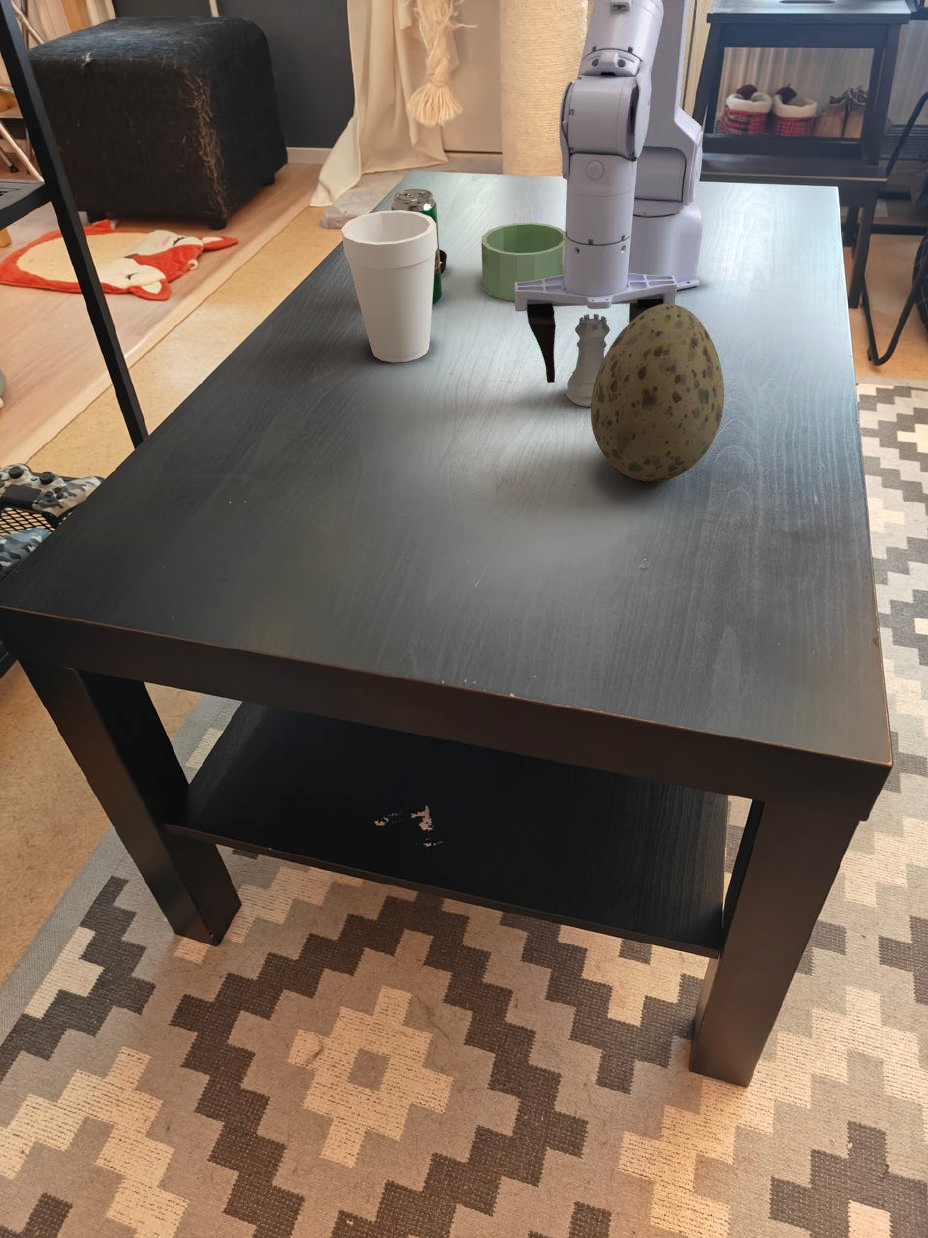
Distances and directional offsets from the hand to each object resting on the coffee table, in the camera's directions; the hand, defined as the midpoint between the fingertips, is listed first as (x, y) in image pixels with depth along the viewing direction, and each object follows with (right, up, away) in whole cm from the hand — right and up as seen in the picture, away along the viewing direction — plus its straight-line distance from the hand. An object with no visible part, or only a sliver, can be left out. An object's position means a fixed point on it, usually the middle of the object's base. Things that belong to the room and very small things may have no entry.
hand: (589, 376), depth 87 cm
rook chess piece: (0, -2, +2) cm, 2 cm away
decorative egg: (+4, -11, -8) cm, 14 cm away
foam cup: (-19, +6, +11) cm, 23 cm away
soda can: (-17, +14, +20) cm, 30 cm away
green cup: (-5, +17, +22) cm, 29 cm away
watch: (-18, +19, +25) cm, 37 cm away
